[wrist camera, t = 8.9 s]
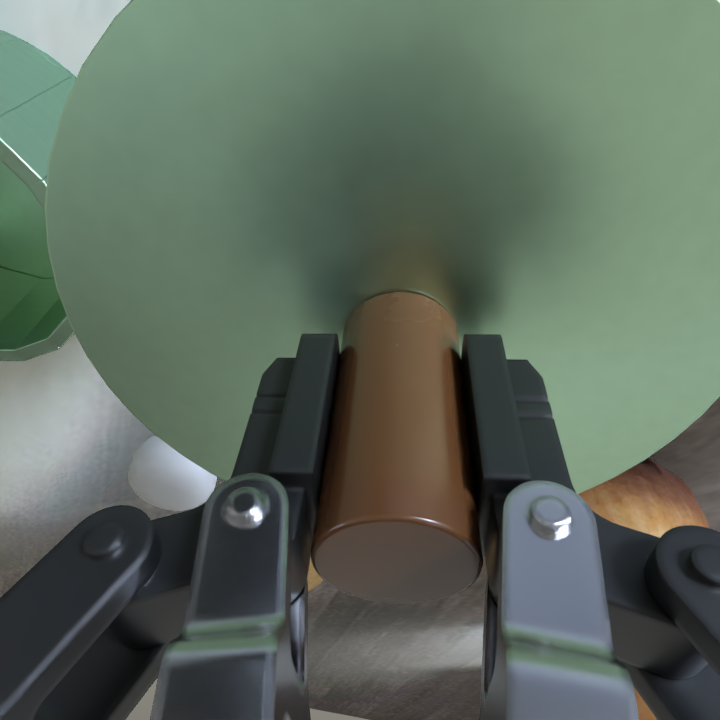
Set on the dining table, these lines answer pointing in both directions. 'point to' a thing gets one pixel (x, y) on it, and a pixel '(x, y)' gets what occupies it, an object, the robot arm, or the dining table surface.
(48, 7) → the dining table surface
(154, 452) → the salt shaker
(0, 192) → the pot
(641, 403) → the pot lid
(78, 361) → the dining table surface
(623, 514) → the butternut squash
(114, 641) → the robot arm
